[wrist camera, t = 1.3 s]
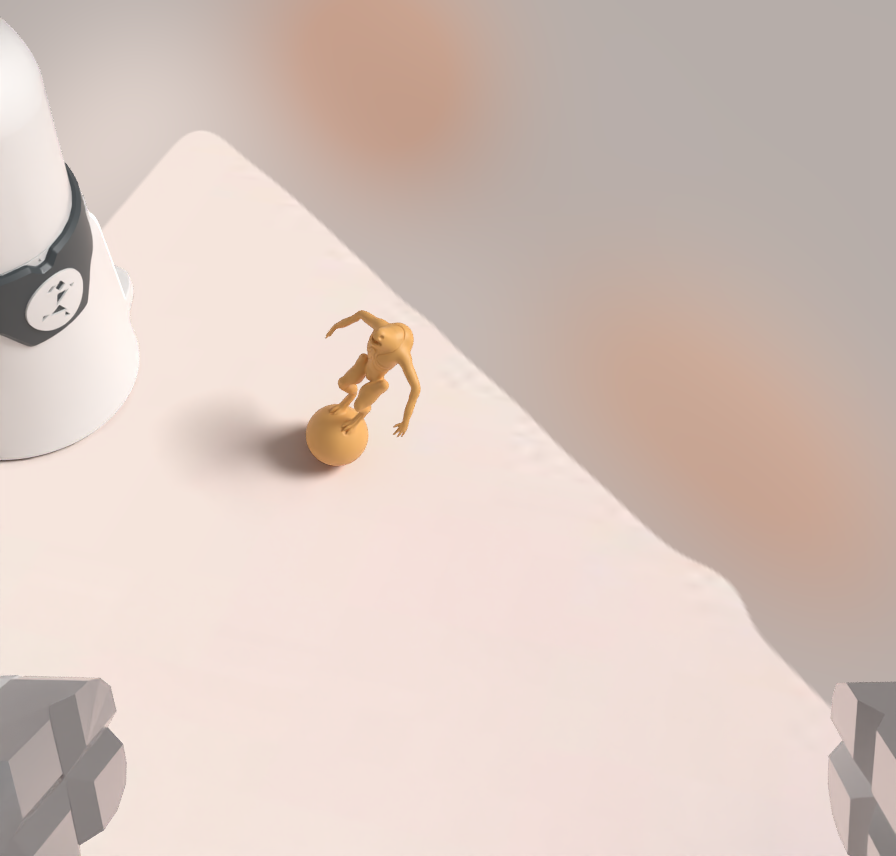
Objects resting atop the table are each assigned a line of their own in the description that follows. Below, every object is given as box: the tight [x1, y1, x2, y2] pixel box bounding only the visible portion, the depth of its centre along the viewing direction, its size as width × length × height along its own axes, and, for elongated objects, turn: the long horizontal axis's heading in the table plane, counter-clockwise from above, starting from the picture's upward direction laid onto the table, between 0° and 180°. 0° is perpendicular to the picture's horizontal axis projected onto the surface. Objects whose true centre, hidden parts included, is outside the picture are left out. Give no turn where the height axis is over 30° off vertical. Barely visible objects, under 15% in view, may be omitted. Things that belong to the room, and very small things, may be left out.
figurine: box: [306, 310, 421, 466], centre depth 48 cm, size 8×6×12 cm
